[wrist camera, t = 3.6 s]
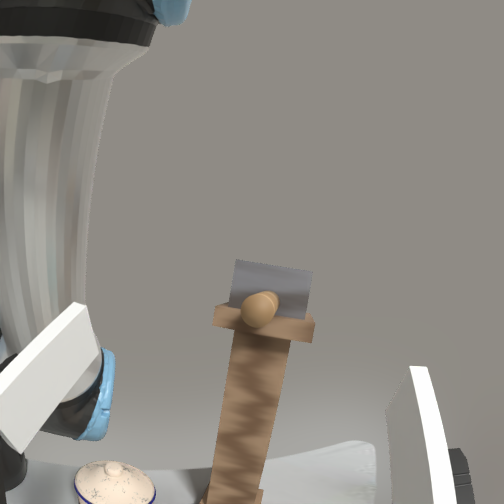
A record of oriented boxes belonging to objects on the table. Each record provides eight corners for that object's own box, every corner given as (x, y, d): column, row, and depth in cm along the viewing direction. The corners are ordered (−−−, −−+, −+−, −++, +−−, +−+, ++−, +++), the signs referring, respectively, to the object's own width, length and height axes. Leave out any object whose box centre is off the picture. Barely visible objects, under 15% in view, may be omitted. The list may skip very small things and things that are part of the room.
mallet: (309, 336, 22) (321, 267, 22) (201, 316, 23) (212, 250, 24) (303, 314, 37) (310, 272, 37) (236, 303, 38) (243, 262, 38)
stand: (186, 519, 30) (215, 306, 32) (204, 482, 40) (233, 300, 42) (261, 536, 28) (315, 323, 30) (268, 495, 38) (309, 313, 40)
